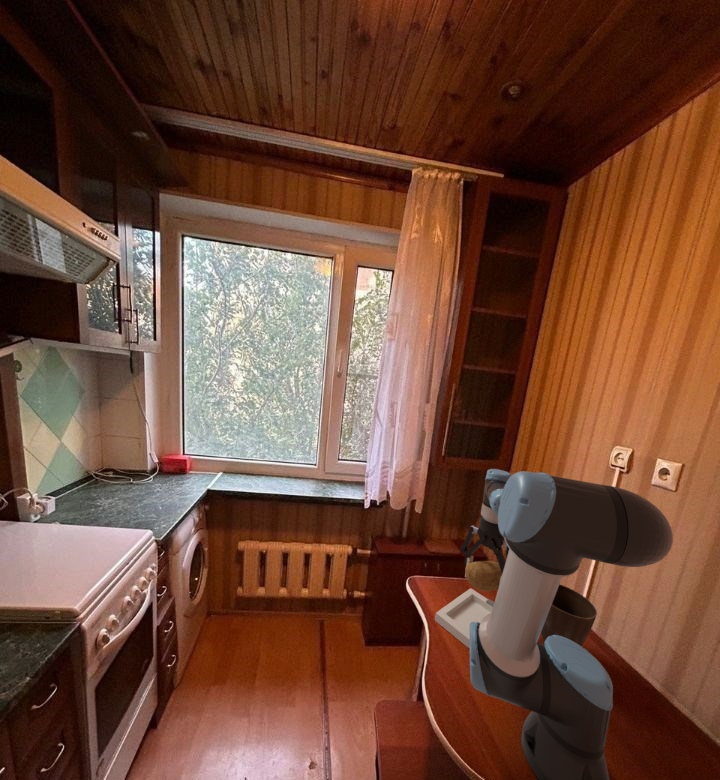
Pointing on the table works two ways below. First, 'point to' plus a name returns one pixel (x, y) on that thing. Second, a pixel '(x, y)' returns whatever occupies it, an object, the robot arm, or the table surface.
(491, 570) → the potato
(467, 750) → the table surface
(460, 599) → the white rimmed tray
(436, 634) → the table surface
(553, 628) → the plant pot
